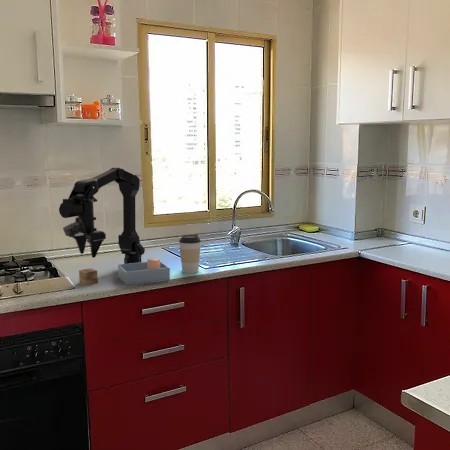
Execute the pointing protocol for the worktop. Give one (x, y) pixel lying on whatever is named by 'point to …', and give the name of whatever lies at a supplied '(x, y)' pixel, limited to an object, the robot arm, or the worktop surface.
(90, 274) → the cube
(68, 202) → the robot arm
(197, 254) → the coffee cup
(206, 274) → the worktop surface
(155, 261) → the pink rectangular block
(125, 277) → the tote
